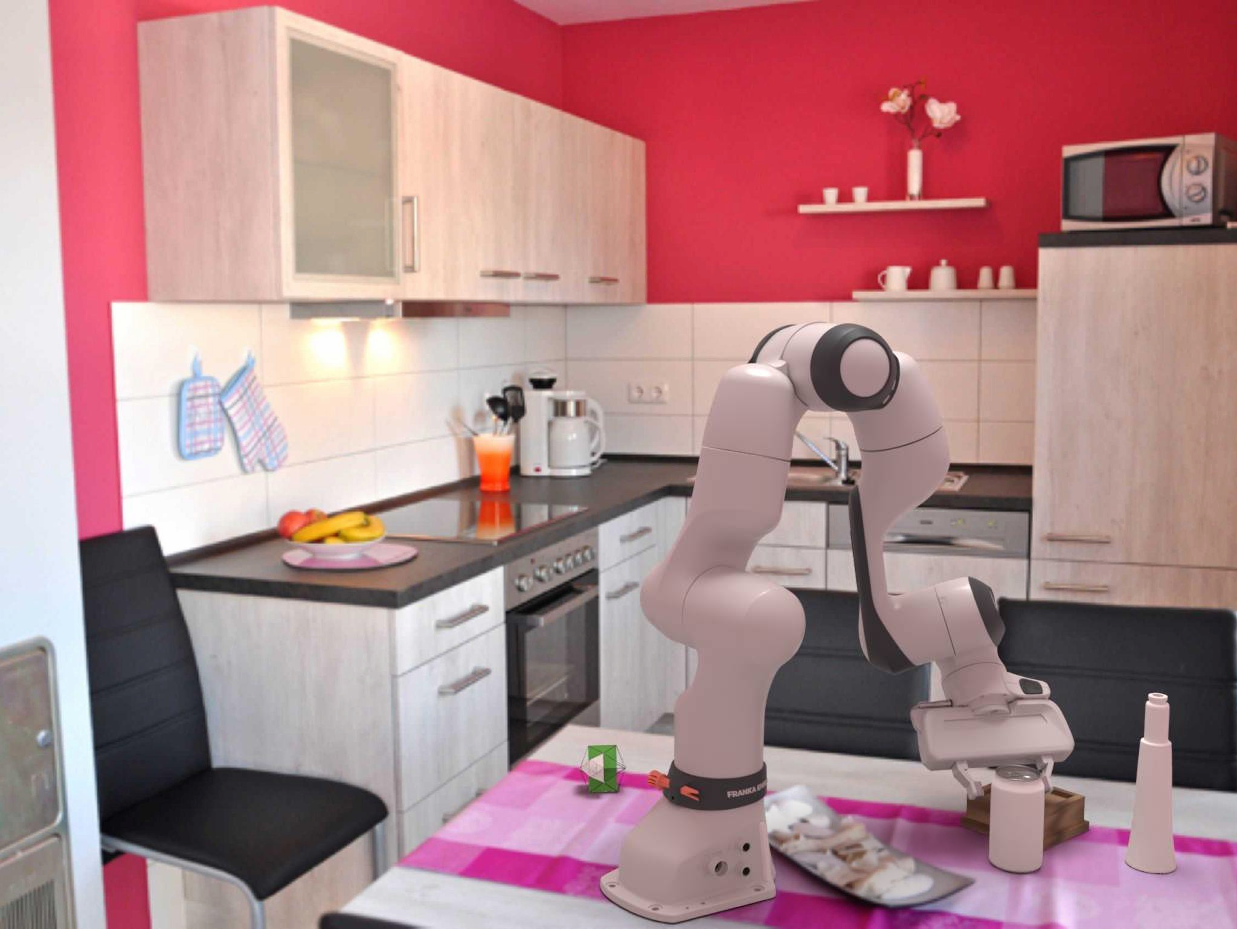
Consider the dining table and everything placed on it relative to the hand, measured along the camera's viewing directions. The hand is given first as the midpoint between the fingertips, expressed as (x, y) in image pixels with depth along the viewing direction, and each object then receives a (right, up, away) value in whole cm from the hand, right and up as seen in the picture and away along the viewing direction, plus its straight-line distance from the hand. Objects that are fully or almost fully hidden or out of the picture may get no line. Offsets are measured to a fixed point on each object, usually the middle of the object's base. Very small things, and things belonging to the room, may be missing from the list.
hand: (1012, 795), depth 167 cm
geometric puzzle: (-53, -6, +26) cm, 59 cm away
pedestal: (+5, -7, +11) cm, 14 cm away
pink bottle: (+17, -9, -1) cm, 19 cm away
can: (0, -9, -1) cm, 9 cm away
